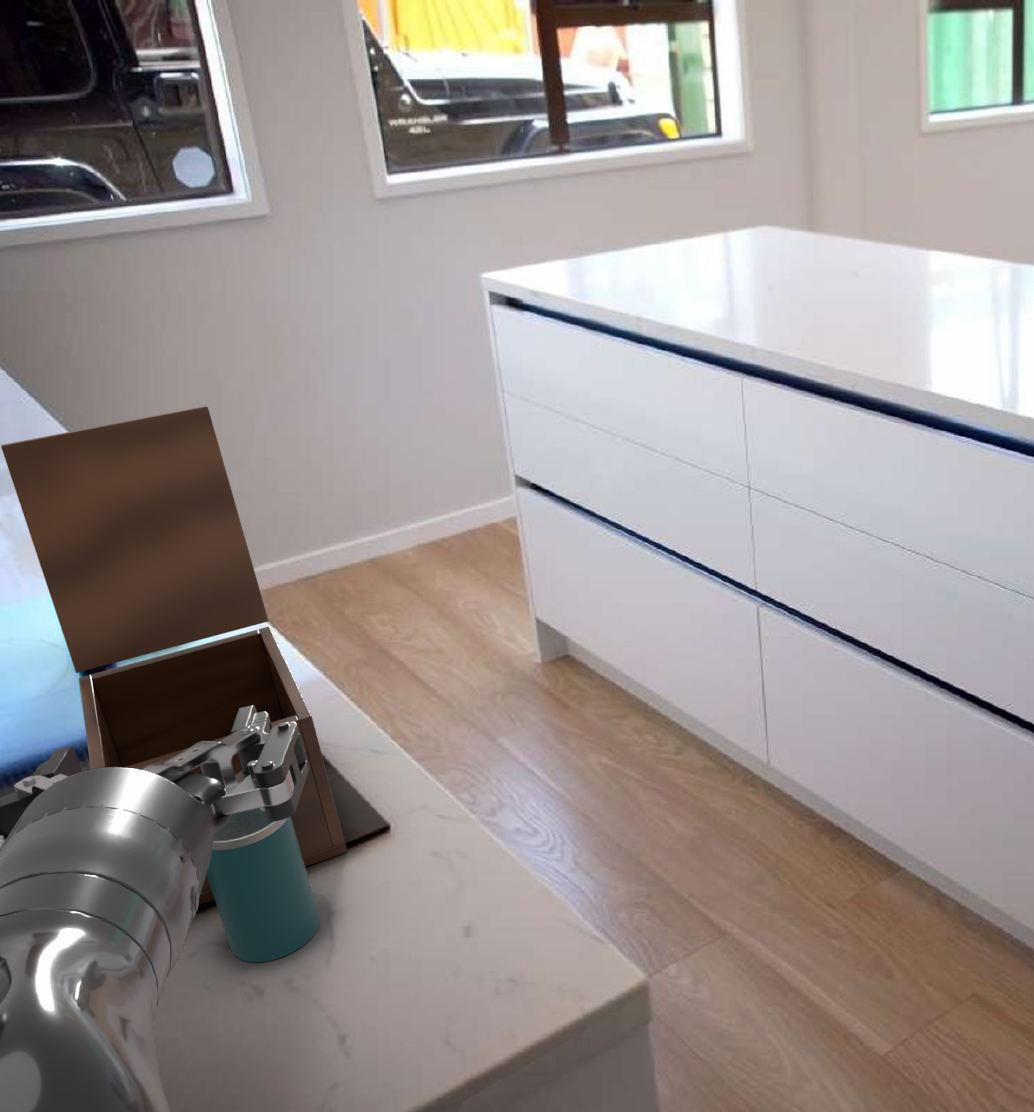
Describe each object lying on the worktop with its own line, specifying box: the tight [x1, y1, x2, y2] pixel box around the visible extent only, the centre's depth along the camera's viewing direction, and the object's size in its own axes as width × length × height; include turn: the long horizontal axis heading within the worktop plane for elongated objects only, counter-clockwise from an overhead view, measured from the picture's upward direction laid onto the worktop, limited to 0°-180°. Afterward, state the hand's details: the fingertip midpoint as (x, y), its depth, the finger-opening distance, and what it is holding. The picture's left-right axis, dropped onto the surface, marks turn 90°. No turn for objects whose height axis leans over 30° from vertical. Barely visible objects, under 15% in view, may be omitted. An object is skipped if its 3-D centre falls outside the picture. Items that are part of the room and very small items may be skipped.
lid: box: [0, 405, 269, 674], centre depth 88 cm, size 16×13×1 cm
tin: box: [207, 808, 321, 963], centre depth 77 cm, size 5×5×9 cm
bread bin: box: [78, 625, 348, 906], centre depth 87 cm, size 16×13×11 cm
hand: (163, 743), depth 64 cm, fingers open, 8 cm apart
